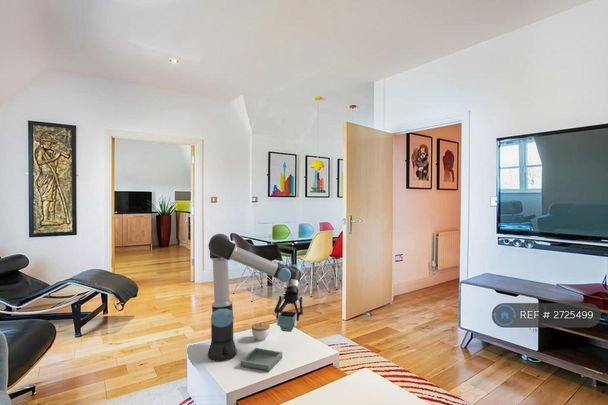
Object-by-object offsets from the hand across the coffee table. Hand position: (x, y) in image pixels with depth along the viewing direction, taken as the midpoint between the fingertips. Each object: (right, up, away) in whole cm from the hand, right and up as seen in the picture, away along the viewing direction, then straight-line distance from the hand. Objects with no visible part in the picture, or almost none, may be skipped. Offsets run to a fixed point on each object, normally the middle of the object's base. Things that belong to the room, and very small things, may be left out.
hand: (286, 325), depth 179 cm
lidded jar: (-17, -16, +22) cm, 32 cm away
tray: (-12, -16, -9) cm, 22 cm away
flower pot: (+1, -4, +3) cm, 5 cm away
